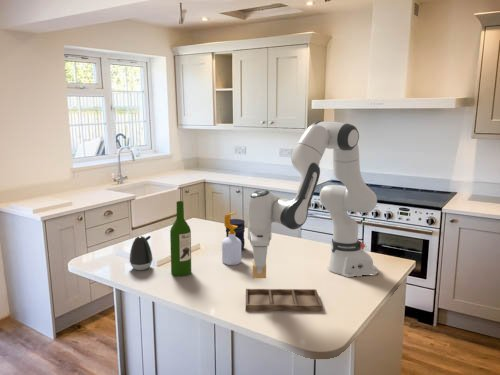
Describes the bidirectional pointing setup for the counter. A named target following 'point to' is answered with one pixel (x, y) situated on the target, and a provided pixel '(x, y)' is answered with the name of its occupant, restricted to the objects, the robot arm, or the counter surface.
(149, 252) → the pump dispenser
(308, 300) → the organiser
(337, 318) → the counter surface
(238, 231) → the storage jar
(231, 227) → the soap bottle
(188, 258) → the wine bottle
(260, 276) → the letter cube
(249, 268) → the counter surface
